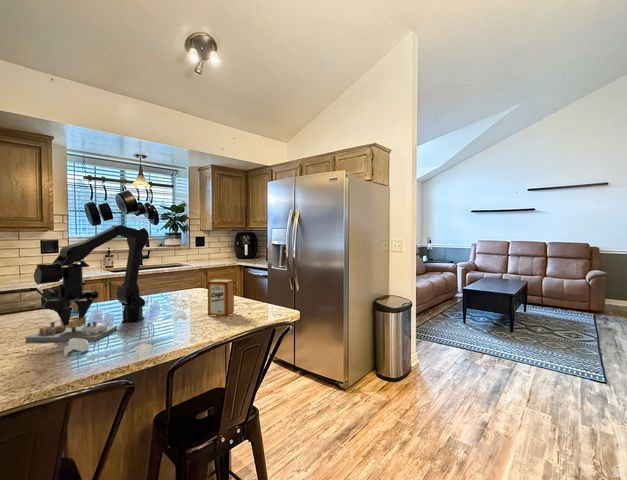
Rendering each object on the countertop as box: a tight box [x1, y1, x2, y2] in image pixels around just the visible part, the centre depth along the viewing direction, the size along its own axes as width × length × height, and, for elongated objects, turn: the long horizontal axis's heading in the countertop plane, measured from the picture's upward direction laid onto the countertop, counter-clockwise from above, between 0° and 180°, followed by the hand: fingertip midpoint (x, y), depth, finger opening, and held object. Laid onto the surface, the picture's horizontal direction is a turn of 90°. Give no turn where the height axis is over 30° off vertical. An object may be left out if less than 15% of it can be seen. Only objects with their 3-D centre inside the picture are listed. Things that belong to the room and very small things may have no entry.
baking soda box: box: [207, 279, 235, 317], centre depth 141 cm, size 10×6×16 cm
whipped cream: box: [63, 338, 90, 357], centre depth 98 cm, size 8×7×5 cm
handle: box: [70, 278, 85, 312], centre depth 147 cm, size 5×6×15 cm
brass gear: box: [60, 315, 87, 328], centre depth 113 cm, size 7×7×2 cm
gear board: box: [25, 320, 118, 343], centre depth 113 cm, size 24×12×6 cm, turn 91°
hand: (73, 322), depth 113 cm, fingers closed on brass gear, 7 cm apart
